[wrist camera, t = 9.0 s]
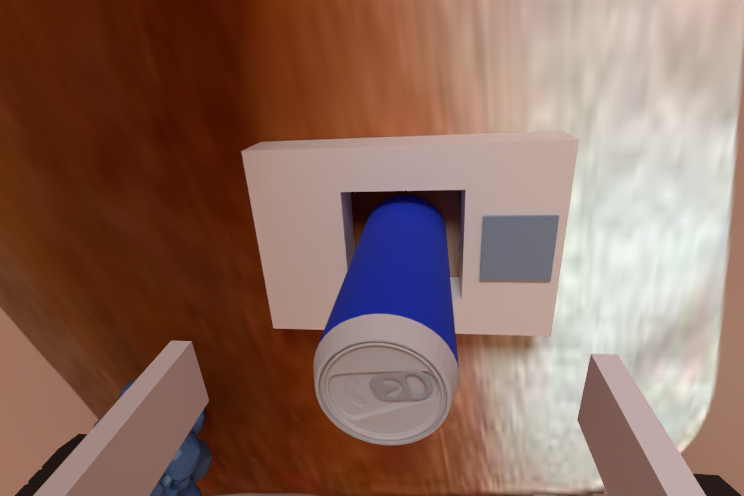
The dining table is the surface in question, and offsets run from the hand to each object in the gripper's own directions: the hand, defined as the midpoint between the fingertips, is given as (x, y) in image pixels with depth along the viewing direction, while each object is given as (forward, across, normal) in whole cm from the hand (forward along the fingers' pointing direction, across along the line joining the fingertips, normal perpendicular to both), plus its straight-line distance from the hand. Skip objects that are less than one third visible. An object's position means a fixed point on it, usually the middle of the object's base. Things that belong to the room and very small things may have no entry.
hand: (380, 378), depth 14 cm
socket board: (+15, 0, -1) cm, 15 cm away
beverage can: (+15, 0, -1) cm, 15 cm away
